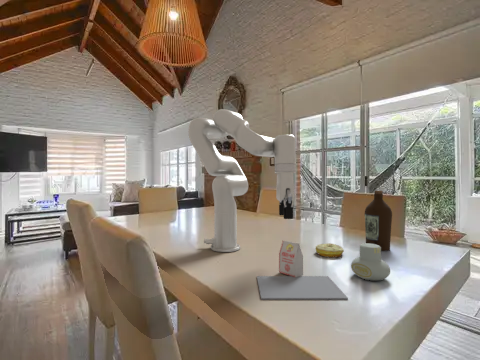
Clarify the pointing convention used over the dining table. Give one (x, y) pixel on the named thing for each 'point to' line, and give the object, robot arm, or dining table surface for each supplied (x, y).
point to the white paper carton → (291, 259)
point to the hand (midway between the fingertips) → (285, 216)
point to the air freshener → (370, 263)
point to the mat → (299, 288)
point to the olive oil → (378, 222)
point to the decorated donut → (329, 250)
